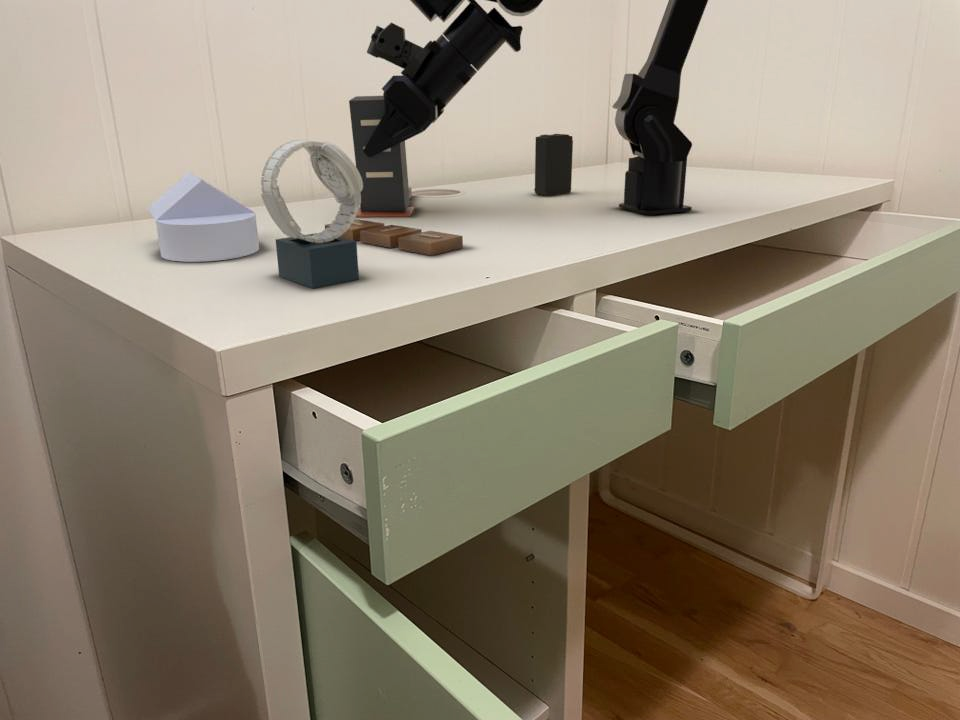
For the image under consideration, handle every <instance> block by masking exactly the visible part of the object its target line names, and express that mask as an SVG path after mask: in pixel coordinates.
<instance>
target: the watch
mask: <svg viewBox="0 0 960 720" xmlns="http://www.w3.org/2000/svg"><path fill="white" fill-rule="evenodd" d="M303 148H304V149H305V150H306V151H307V153H308V155H309V156H310V157H309V158H310V159H309V160H310V163H311V166H312V169H313V172H314V174H315V175H316V177H317V178H318V180H319V181H320V182H321V183H322V184H323V186H324V187H325V188H326V189H327V190H328V191H329V192H330V193H332V195H333V197H334V200H335V201H336V203H338V204H340V205H339V207H338V209H339V210H338V211H337V213H336V216H335V218H334V219H333V221H332V222H331V223H329V224H330V225H329V228H326V229H325V228H324V229H323V230H322V231H320V232H315V233H309V234H303V232H302V228H301V226H299V224H298V223H297V222H296V220H295V219H294V217H293V215H292V213H290V210H289V208H288V206H287V204H286V201H285V199H284V197H282V195H281V191H280V186H279V185H278V177H279V175H280V171H281V168H282V167H283V166H284V164H285V162H286V161H287V159H289V158H290V157H291V156H292V155H294V153H295V152H298V151H299V150H301V149H303ZM260 179H261V180H260V184H261V188H260V189H261V192H262V193H261V194H260V197H261V199H262V201H263V203H264V206H265V208H266V211H267V212H268V214H269V216H270V218H271V219H272V221H273V222H274V224H275V226H277V227H278V229H279V230H280V231H281V232H282V234H284V235H285V236H287V237H283V238H282V237H281V238H275V248H276V258H277V268H278V277H280V278H282V279H284V280H289V281H290V282H291V281H292V282H294V283H296V284H299V285H302V286H305V287H307V288H310V289H316V288H321V287H326V286H332V285H337V284H342V283H347V282H352V281H357V280H359V278H360V276H359V275H360V273H359V260H358V258H359V257H358V244H357V240H356V241H352V240H348V239H344V238H340V236H341V235H343V233H345V232H346V231H347V230H348V229H349V227H350V226H351V224H352V223H353V221H354V219H356V218H357V217H356V214H357V211H358V208H359V207H360V204H361V194H360V192H361V191H362V189H363V182H362V178H361V176H360V173H359V171H358V169H357V168H356V164H355V163H354V162H353V160H352V159H351V158H350V157H349V156H348V155H347V153H346V152H344V150H342V148H340V147H339V146H337V145H336V144H334V143H332V142H329V141H316V140H315V141H313V140H305V139H300V140H297V139H295V140H289V141H287V142H284V143H283V144H281V145H280V146H279V147H277V148H276V149H275V150H273V152H271V154H270V155H269V157H268V158H267V160H266V161H265V164H264V166H263V169H262V173H261V177H260Z"/></svg>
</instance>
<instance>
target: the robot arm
mask: <svg viewBox="0 0 960 720" xmlns="http://www.w3.org/2000/svg"><path fill="white" fill-rule="evenodd" d="M409 1H410V2H411V3H412V5H414V6H415V7H416V9H418V11H419V12H420V13H421V14H422V15H423V16H424V17H425V18H426V19H427V20H428V21H429V22H430V23H431V22H433V21H434V20H436V19H437V18H438V19H439V20H440V21H442V23H446V22H447V21H448V20H449V19H450V18H451V17H452V15H454V13H455V12H457V10H458V9H459V8H460V7H461V5H462V4H464V2H465V1H467V2H468V4H467V5H466V6H465V7H464V8H463V10H462V11H461V12H460V13H459V14H458V15H457V17H455V19H454V20H453V21H452V22H451V23H450V24H449V26H448V27H446V29H444V31H443V32H442V33H441V34H440V35H439V36H438V37H437V39H436V40H435V39H434V40H433V41H432V40H429V41H428V42H427V44H425V45H424V47H422V46H420V45H418V44H416V43H414V42H412V41H410V40H408V39H406V29H405V28H404V27H402V26H399V25H397V24H396V23H394V22H390V23H389V24H387V26H385V27H384V28H383V27H381V26H379V25H376V26H375V29H374V32H373V33H372V34H371V36H370V38H371V39H370V42H369V44H368V47H367V50H366V54H368V55H370V56H372V57H374V58H378V59H379V58H380V59H382V60H385V61H386V62H388V63H391V64H393V65H395V66H397V67H399V68H401V69H402V70H401V72H400V74H401V75H392V76H391V77H390V78H389V80H388V81H387V82H386V83H385V84H384V85H383V86H382V88H381V90H382V91H383V93H382V96H383V97H384V105H385V113H384V115H383V117H382V118H381V120H380V122H379V124H378V125H377V127H376V129H375V131H374V132H373V134H372V136H371V138H370V139H369V141H368V143H367V145H366V146H365V148H364V150H363V152H364V153H365V154H366V155H367V156H368V157H372V156H374V155H376V154H378V153H380V152H382V151H385V150H387V149H389V148H391V147H393V146H395V145H397V144H399V143H401V142H403V141H405V142H406V141H407V140H409V139H411V138H413V137H415V136H418V135H420V134H422V133H423V132H425V131H426V130H427V129H428V128H429V127H430V126H431V125H432V124H434V123H436V121H437V120H438V119H439V118H440V117H441V116H442V114H444V113H445V108H446V107H447V106H448V104H450V102H451V101H452V100H453V99H454V98H455V97H456V95H458V93H459V92H460V91H461V90H462V89H463V88H464V87H465V86H467V84H468V83H469V82H470V81H471V80H472V79H473V77H474V76H475V75H476V74H477V73H478V72H479V71H480V70H481V69H482V68H483V67H484V66H485V64H486V63H487V62H488V61H490V59H491V58H492V57H493V56H494V55H495V54H496V52H497V51H499V49H500V48H501V47H502V46H503V45H505V44H504V43H506V44H507V46H509V47H510V48H511V50H512V51H513V52H514V53H519V52H520V51H521V49H522V44H521V38H522V37H521V36H522V32H523V29H524V28H523V26H522V25H515V26H514V25H513V26H512V25H511V23H509V21H508V20H507V19H506V18H505V17H504V15H502V14H501V13H500V12H499V10H498V9H497V8H496V7H493V8H491V10H489V12H487V11H486V10H485V9H484V8H483V7H482V6H481V5H480V4H479V3H478V2H477V1H476V0H409ZM485 1H487V2H492V3H497V5H498V6H499V8H500V9H501V10H502V11H503V12H505V13H506V14H508V15H510V16H512V17H525V16H528V15H531V13H533V12H535V11H536V10H537V8H538V7H539V6H540V5H541V4H542V3H543V1H544V0H485ZM708 2H709V0H668V2H667V4H666V7H665V10H664V12H663V15H662V18H661V21H660V24H659V26H658V29H657V31H656V34H655V37H654V40H653V42H652V45H651V48H650V51H649V53H648V56H647V59H646V61H645V63H644V64H643V66H642V67H641V69H640V71H639V72H638V73H637V74H636V73H624V76H623V80H622V84H621V90H620V93H619V96H618V98H617V100H616V101H615V102H614V103H613V104H612V106H611V107H612V109H615V110H616V112H615V117H614V124H615V128H616V130H617V132H618V134H619V135H620V136H621V138H622V139H623V140H625V141H627V142H628V143H629V146H630V150H631V153H632V155H633V156H634V157H629V158H628V168H627V170H626V171H625V174H624V190H623V191H624V193H623V194H624V195H623V202H622V203H621V202H620V203H618V208H619V209H624V210H629V211H631V212H635V213H640V214H644V215H649V216H650V215H661V214H671V213H673V214H674V213H682V212H683V213H684V212H691V211H692V209H693V207H692V206H691V205H686V204H685V203H684V202H685V190H686V179H687V164H688V156H689V154H690V151H691V150H692V147H693V142H692V141H691V140H690V139H689V138H688V137H687V136H686V135H685V133H684V132H683V131H682V130H681V129H680V128H679V127H678V126H677V124H675V121H676V115H677V110H678V107H679V101H680V91H681V80H682V79H681V78H682V71H683V67H684V66H685V62H686V60H687V58H688V54H689V53H690V49H691V47H692V44H693V42H694V39H695V36H696V33H697V31H698V29H699V26H700V24H701V20H702V17H703V15H704V13H705V10H706V8H707V6H708Z"/></svg>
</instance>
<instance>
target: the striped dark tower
mask: <svg viewBox="0 0 960 720" xmlns="http://www.w3.org/2000/svg"><path fill="white" fill-rule="evenodd" d="M348 104H349V105H348V106H349V113H350V114H349V115H350V123H351V125H350V126H351V135H352V143H353V150H354V151H353V152H354V161H355V166H356V168H357V169H358V171H359V173H360V176H361V178H362V182H363V189H362V191H361V192H360V194H361V204H360V205H359V207H360V209H361V212H397V211H406V209H407V208H408V207H410V205H411V202H410V201H411V198H410V199H409V175H408V163H407V162H408V161H407V151H406V140H405V141H403V142H401V143H399V144H397V145H395V146H393V147H391V148H389V149H387V150H385V151H382V152H380V153H378V154H376V155H374V156H372V157H368V156H367V155H366V154H365V153H364V152H363V150H364V148H365V146H366V145H367V143H368V141H369V139H370V138H371V136H372V134H373V132H374V131H375V129H376V127H377V125H378V124H379V122H380V120H381V118H382V117H383V115H384V113H385V105H384V97H383V95H361V96H360V95H358V96H357V95H355V96H354V97H352V98H351V99H349V100H348Z"/></svg>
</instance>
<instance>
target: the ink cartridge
mask: <svg viewBox="0 0 960 720" xmlns="http://www.w3.org/2000/svg"><path fill="white" fill-rule="evenodd" d="M573 149H574V140H573V136H572V135H570V134H566V133H553V134H540V135H539V136H535V149H534V151H535V152H534V153H535V155H534V156H535V157H534V188H533V191H534V193H535V194H536V195H539V196H545V197H551V196H552V197H553V196H559V195H566V194H571V192H572V179H573V178H572V175H573V152H574V151H573Z"/></svg>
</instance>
